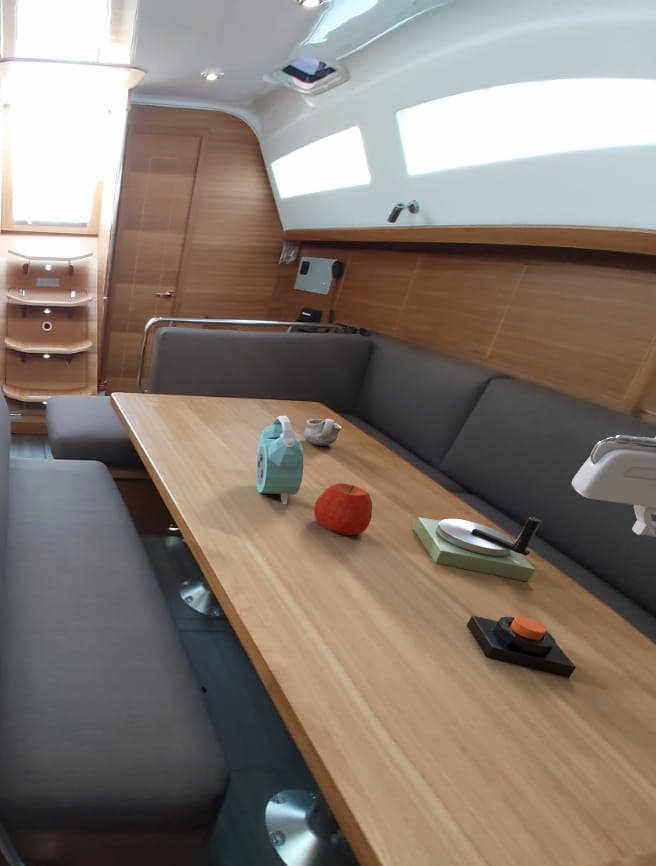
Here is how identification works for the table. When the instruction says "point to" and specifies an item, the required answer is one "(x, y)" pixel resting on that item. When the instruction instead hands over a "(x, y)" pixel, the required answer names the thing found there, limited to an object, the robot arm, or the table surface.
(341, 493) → the apple
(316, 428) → the grey spouted pot
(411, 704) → the table surface
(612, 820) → the table surface
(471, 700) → the table surface
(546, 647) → the button box
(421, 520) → the dial plate
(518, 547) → the wheel
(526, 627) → the button
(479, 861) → the table surface
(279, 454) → the alarm clock
